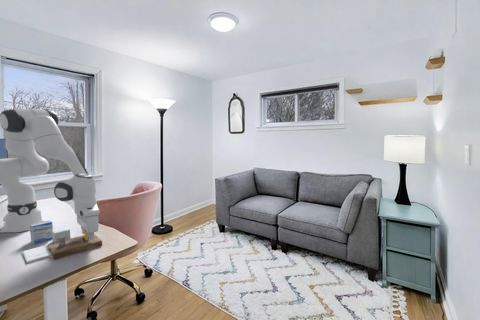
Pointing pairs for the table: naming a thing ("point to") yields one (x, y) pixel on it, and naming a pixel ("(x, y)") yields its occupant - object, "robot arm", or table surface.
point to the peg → (86, 236)
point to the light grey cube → (60, 233)
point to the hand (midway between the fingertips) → (87, 236)
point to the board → (72, 246)
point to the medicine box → (41, 231)
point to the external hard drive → (37, 254)
